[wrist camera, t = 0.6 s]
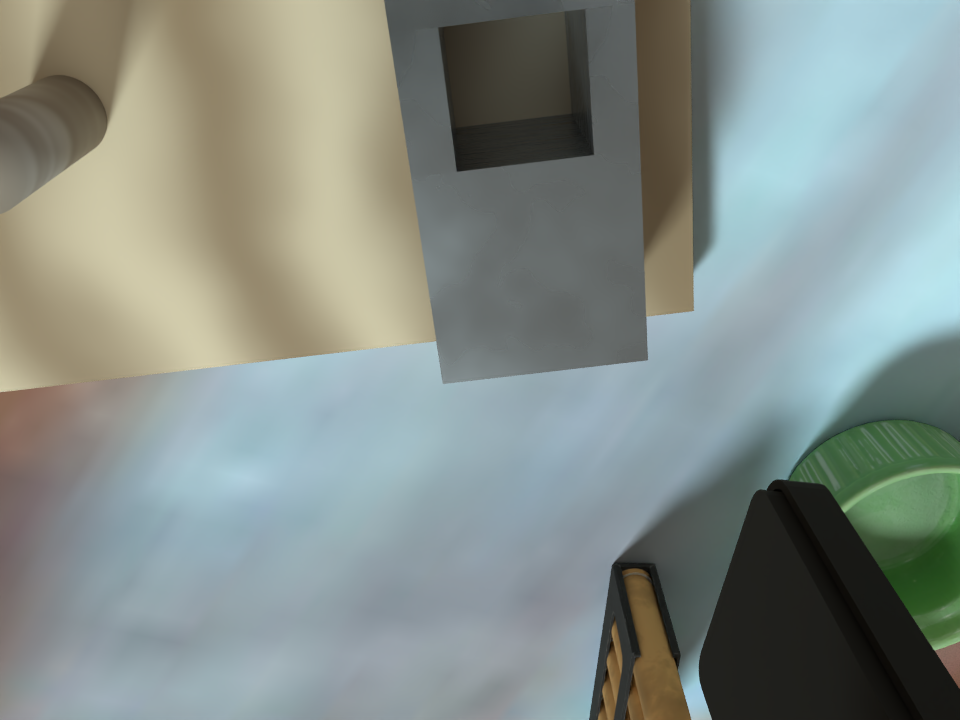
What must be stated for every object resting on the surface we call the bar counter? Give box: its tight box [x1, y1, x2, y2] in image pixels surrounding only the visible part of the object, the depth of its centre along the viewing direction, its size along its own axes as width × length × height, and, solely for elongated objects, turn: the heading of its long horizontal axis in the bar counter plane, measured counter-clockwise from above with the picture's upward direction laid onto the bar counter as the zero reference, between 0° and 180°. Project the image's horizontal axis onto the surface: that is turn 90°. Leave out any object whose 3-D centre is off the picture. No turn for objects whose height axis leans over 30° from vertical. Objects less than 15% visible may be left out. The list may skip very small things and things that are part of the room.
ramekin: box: [789, 420, 960, 650], centre depth 36 cm, size 9×9×4 cm
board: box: [0, 0, 694, 392], centre depth 26 cm, size 28×18×8 cm, turn 97°
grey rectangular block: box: [384, 0, 648, 384], centre depth 25 cm, size 16×6×5 cm, turn 7°
